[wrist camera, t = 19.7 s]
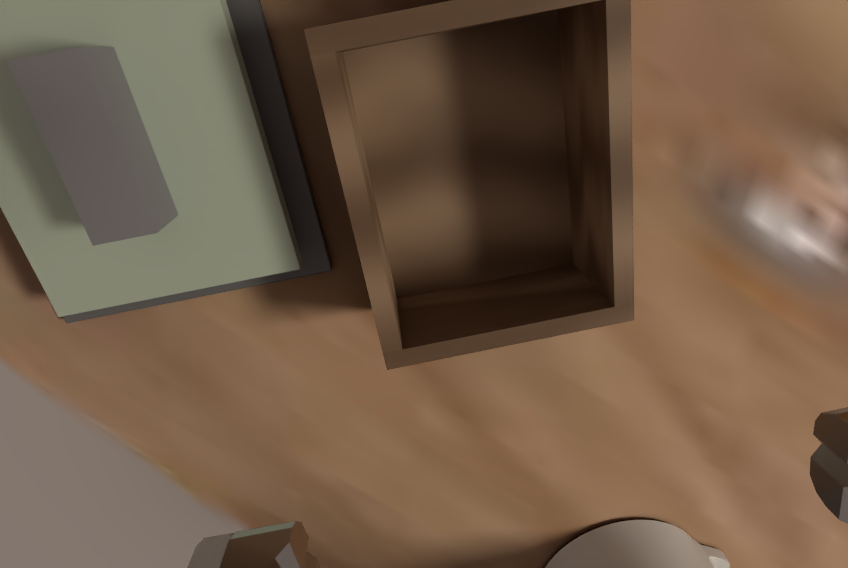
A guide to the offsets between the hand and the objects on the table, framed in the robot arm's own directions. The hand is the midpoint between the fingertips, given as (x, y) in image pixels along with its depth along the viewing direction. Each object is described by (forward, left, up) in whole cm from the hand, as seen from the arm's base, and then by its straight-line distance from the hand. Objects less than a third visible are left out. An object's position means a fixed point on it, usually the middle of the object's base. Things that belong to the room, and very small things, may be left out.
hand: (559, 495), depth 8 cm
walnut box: (+3, -3, -24) cm, 24 cm away
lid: (+5, +14, -23) cm, 28 cm away
